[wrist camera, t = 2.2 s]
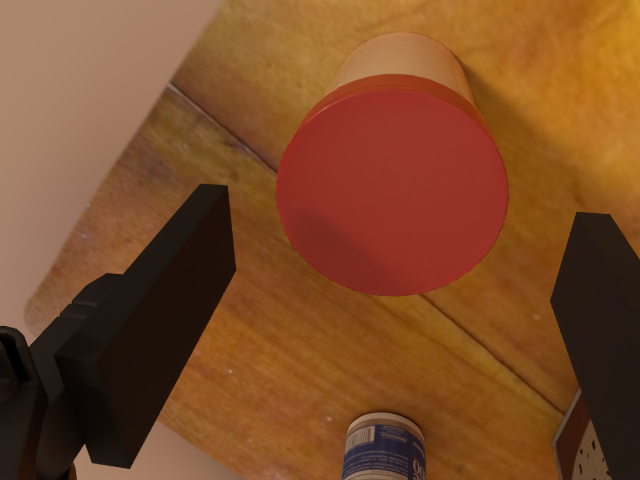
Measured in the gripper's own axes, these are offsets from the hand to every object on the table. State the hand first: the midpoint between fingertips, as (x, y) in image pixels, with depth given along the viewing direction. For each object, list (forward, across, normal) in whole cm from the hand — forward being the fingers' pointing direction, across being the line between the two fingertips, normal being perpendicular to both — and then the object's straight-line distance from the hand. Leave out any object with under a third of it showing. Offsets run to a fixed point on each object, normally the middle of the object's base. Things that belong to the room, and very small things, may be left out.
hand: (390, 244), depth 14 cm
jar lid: (+2, 0, 0) cm, 2 cm away
